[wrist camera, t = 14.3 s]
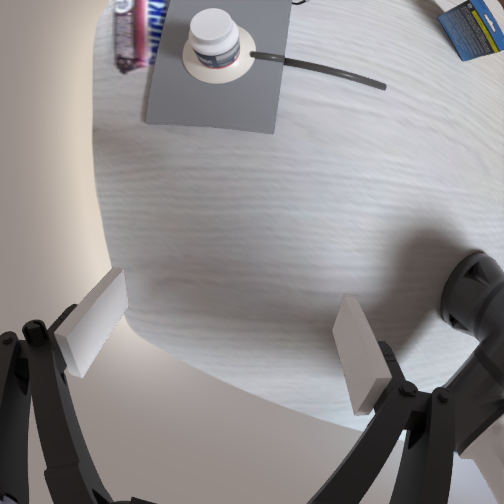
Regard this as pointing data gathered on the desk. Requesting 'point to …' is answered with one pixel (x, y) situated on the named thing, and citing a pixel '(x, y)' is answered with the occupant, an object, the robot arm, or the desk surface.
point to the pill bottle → (214, 38)
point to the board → (227, 69)
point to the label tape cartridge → (472, 30)
